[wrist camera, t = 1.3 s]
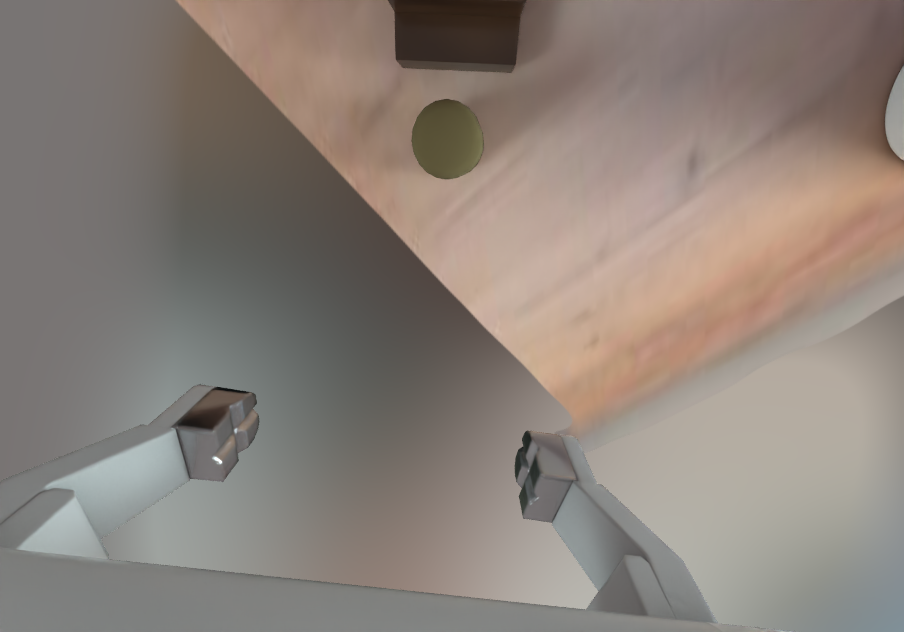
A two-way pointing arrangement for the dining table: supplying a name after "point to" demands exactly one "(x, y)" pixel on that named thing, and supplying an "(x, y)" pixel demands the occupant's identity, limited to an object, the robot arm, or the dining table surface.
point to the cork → (447, 139)
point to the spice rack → (457, 34)
